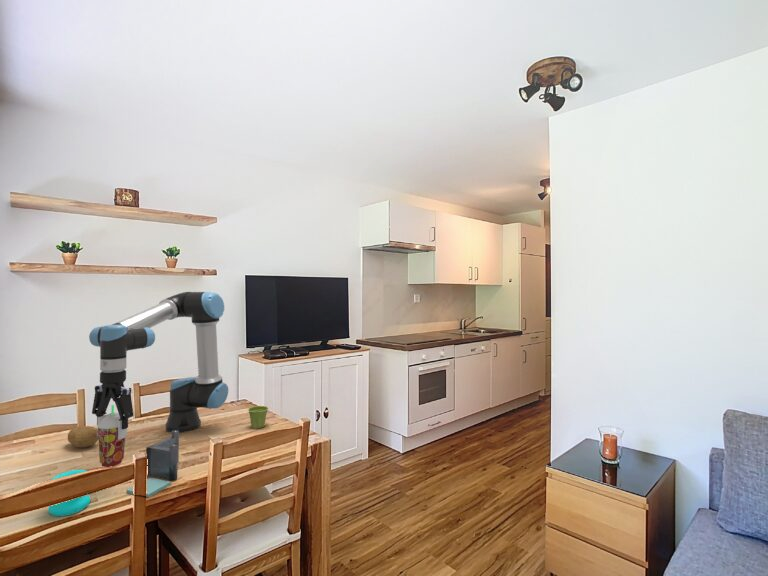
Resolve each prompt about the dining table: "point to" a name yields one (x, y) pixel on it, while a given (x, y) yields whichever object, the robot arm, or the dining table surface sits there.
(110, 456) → the smoothie
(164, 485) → the pad
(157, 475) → the magazine holder
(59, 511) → the teal ball
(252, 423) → the plant pot
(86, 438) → the potato
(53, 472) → the dining table surface
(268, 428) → the dining table surface
